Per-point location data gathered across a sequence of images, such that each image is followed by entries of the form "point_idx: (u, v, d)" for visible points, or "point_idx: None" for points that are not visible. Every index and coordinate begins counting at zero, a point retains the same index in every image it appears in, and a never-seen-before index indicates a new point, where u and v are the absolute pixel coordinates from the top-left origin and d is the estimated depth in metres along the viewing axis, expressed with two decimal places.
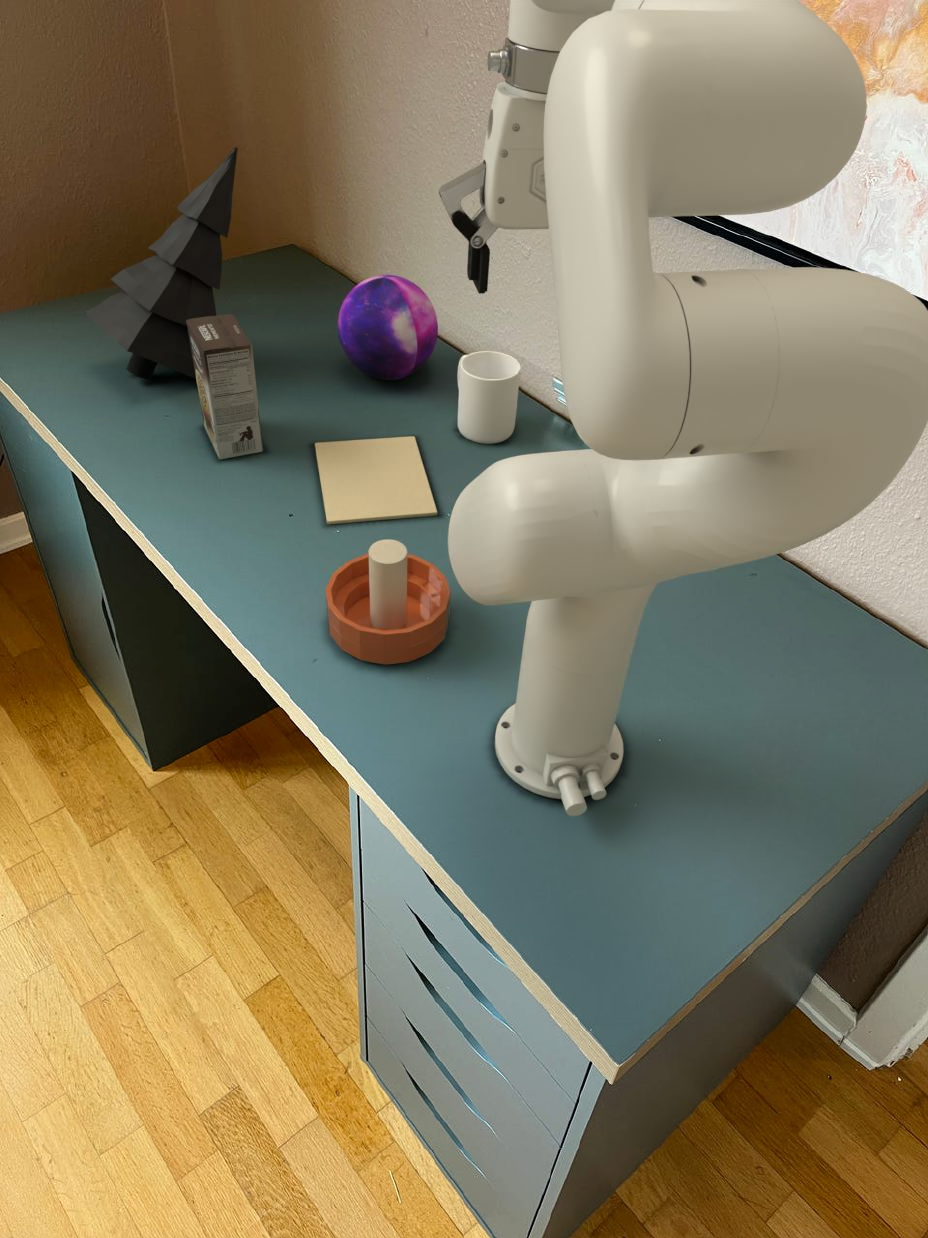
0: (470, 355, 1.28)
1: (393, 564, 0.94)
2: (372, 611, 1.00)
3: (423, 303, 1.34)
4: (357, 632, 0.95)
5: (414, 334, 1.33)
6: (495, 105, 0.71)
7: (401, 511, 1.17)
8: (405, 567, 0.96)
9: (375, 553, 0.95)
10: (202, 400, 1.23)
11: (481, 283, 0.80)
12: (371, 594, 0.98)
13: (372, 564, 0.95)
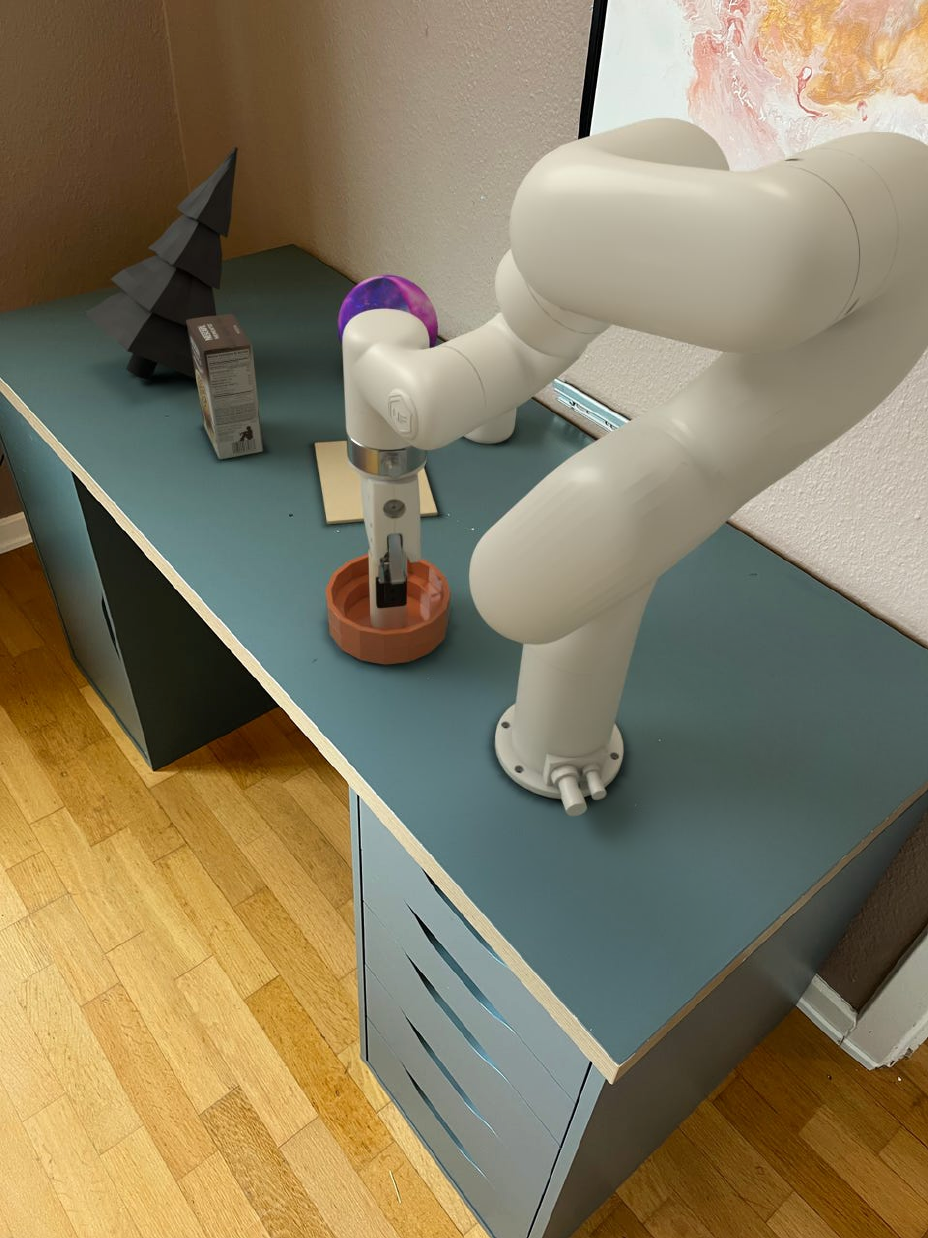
0: None
1: None
2: (372, 611, 1.00)
3: (423, 303, 1.34)
4: (357, 632, 0.95)
5: None
6: (402, 494, 0.85)
7: None
8: None
9: None
10: (202, 400, 1.23)
11: (406, 597, 0.97)
12: (371, 594, 0.98)
13: (372, 564, 0.95)
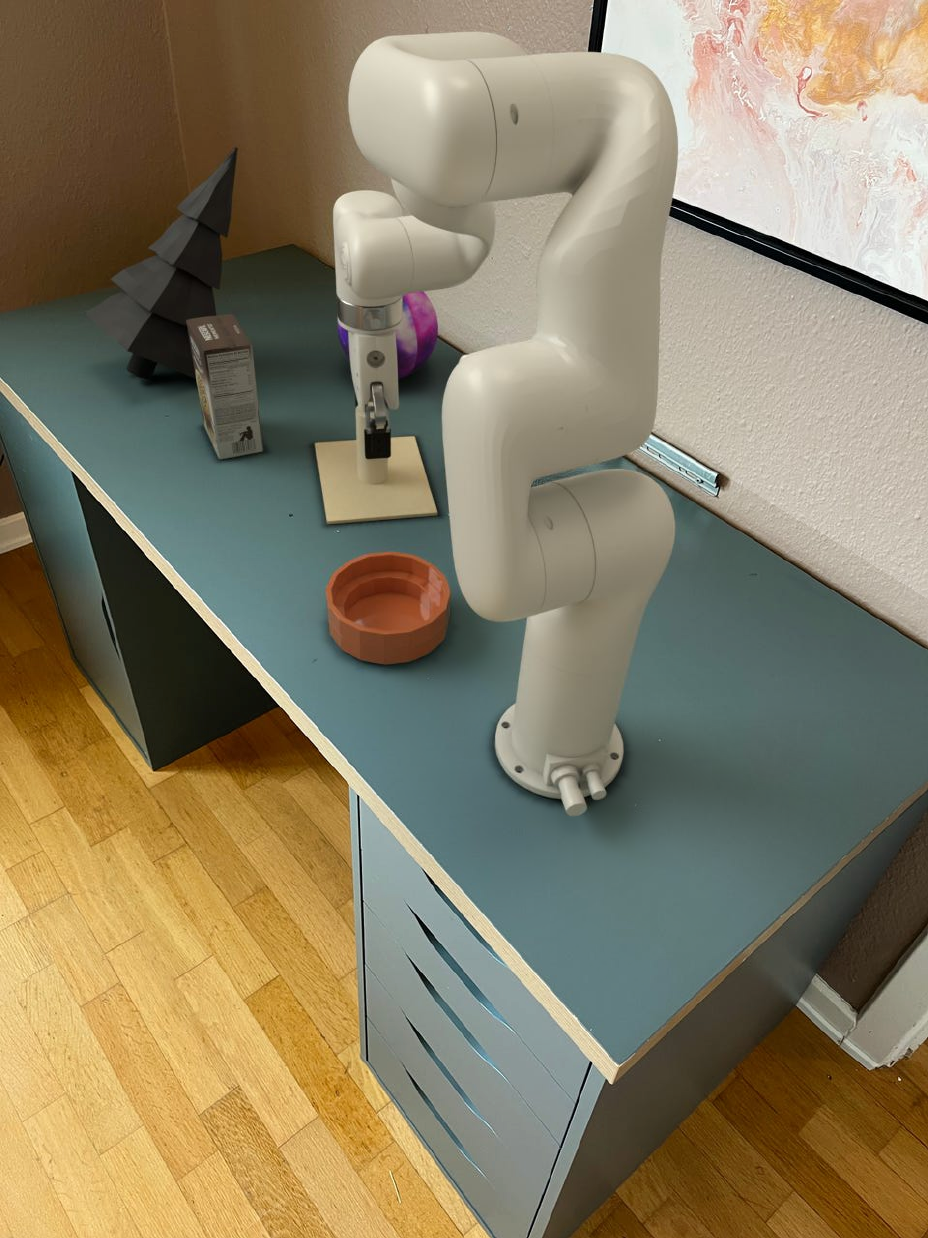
0: None
1: None
2: (359, 464, 1.20)
3: (423, 303, 1.34)
4: (357, 632, 0.95)
5: (414, 334, 1.33)
6: (382, 345, 1.05)
7: (401, 511, 1.17)
8: None
9: (361, 411, 1.15)
10: (202, 400, 1.23)
11: (390, 450, 1.14)
12: (358, 448, 1.18)
13: (358, 419, 1.15)
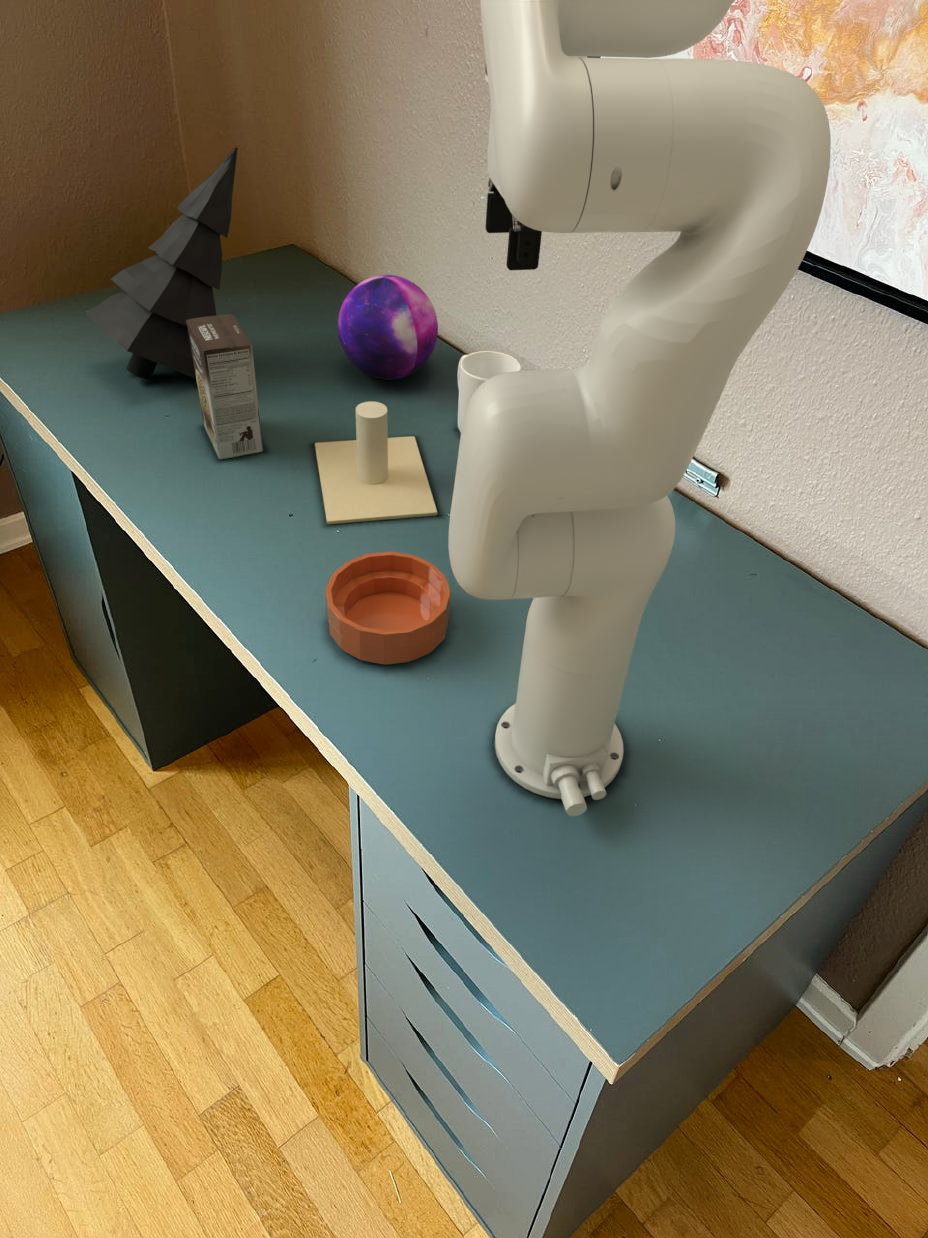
0: (470, 355, 1.28)
1: (375, 418, 1.14)
2: (359, 464, 1.20)
3: (423, 303, 1.34)
4: (357, 632, 0.95)
5: (414, 334, 1.33)
6: None
7: (401, 511, 1.17)
8: (386, 423, 1.16)
9: (361, 411, 1.15)
10: (202, 400, 1.23)
11: (538, 258, 0.93)
12: (358, 448, 1.18)
13: (358, 419, 1.15)
